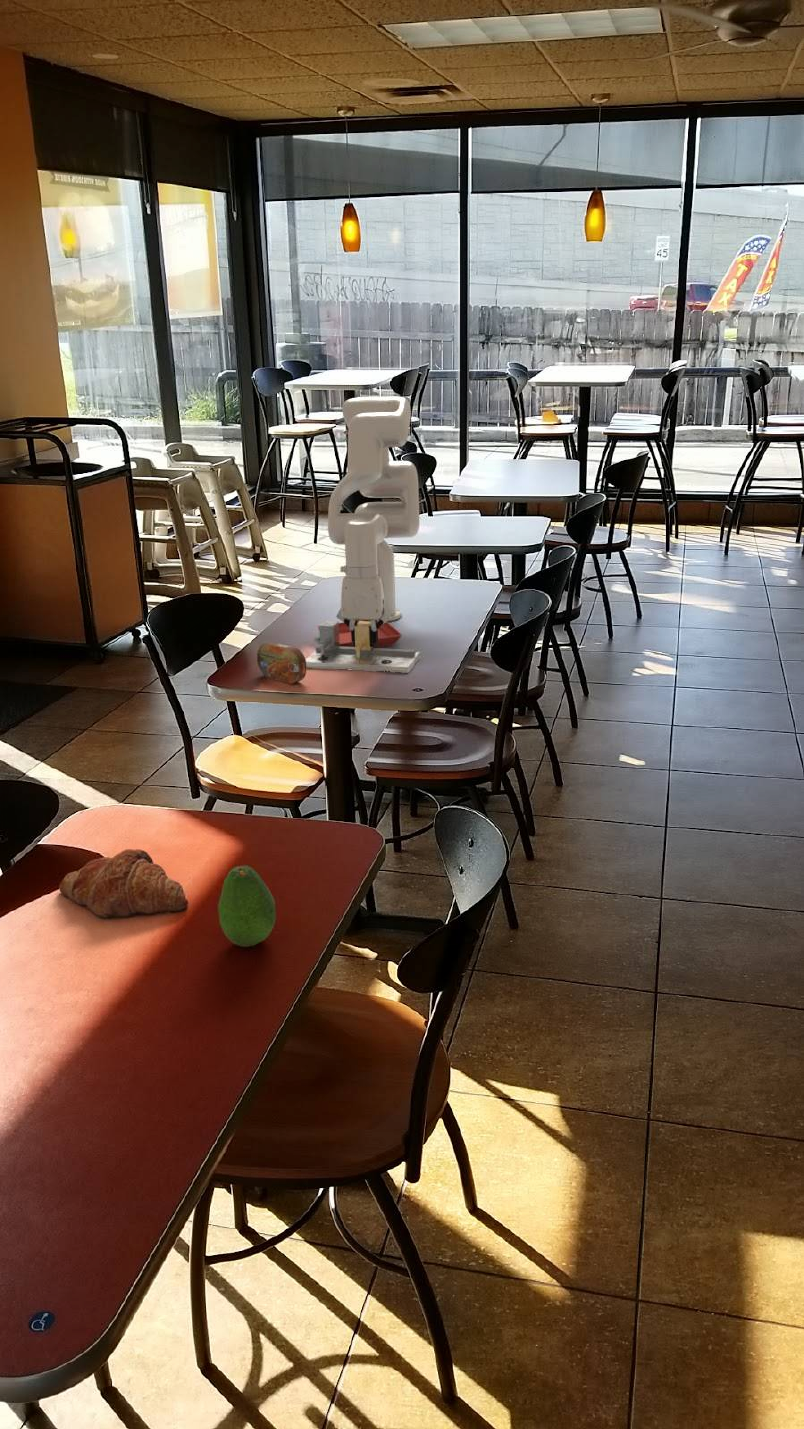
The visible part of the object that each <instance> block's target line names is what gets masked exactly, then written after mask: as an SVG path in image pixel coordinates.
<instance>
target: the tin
mask: <svg viewBox="0 0 804 1429" xmlns="http://www.w3.org/2000/svg"><path fill="white" fill-rule="evenodd" d="M306 659H307V658H306V657H305V655H304V654H303V652H302V650H300V649H299V648H296V647H294V646H289V645H285V644H281V643H277V642H269V643H268V642H267V643H262V645H261V644H260V646H259V648H258V651H257V654H256V661H257V665H258V669H259V671H260V672H261V673H262V675H263V676H264V677H265V678H268V679H271V680H274V681H279V682H282V683H284V684H288V685H293V684H295V683H298V682H299V683H300V682H302V681H303V680H304V679H305V677H306V674H307V668H306Z"/></svg>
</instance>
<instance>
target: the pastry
mask: <svg viewBox="0 0 804 1429" xmlns="http://www.w3.org/2000/svg"><path fill="white" fill-rule="evenodd" d="M58 889H59V891H60V893H61V894H62V895H63V897H65V898H67V899H69V900H70V901H73V902H74V903H76V904H77V905H78V906H80V907H83V908H88V910H89V911H90V912H92V913H94V914H95V915H96V916H97V917H99V918H101V919H108V920H109V919H123V918H124V919H125V918H132V917H134V916H139V915H147V916H149V915H151V916H152V915H155V914H157V915H158V914H167V913H172V914H173V913H181V912H183V911H185V910H186V909H188V906H189V901H188V899H187V898H186V893H185V891H184V889H183V886H182V885H181V883H180V882H178V881H175V880H174V879H172V878H169V877H168V875H167V874H166V871H165V870H164V869H163V867H162V866H161V865H159V864H158V863H154V861H153V858H152V856H151V855H150V854H149V853H148V851H146V850H142V849H131V848H130V849H125V850H122V851H120V852H119V853H117V854H116V855H115V856H113V857H109V856H108V857H100V858H96V859H92V860H90V861H89V862H86V864H85V865H84V866H83V867H82V868H80V869H79V870H76V871H71V872H69V873H67V874H66V875H65V876H64V878H63V879H62V880H61V882H60V884H59V887H58Z"/></svg>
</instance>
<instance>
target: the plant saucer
mask: <svg viewBox="0 0 804 1429" xmlns="http://www.w3.org/2000/svg"><path fill="white" fill-rule="evenodd" d="M380 619H382V618H380ZM380 619H378V621H379V620H380ZM359 621H369V622H370V620H358V621H357V623H358V622H359ZM316 628H317V630H319V625H318V626H316ZM402 636H403V634H402V633H401V632H399V631H398V629H396V628H395V627H394V626H393V625H391V624H390V623H389V622H388V621H387V622H386V623H384V624H382V625H381V626H380V627H379V628H378V643H376V645H375V646H374V648H381V647H380V646H382V647H387V646H386V645H390V646H393V645H392V644H394V645H395V644H396V643H397V642H398V641H399V640H400V639H401V637H402ZM339 640H340V645H339V646H341V647H355V646H354V645H353V642H352V640H351V630H350V629H349V627H348V626H347V625H346V624H345V623H344V622H343V621H342V622H339ZM372 648H373V647H372Z"/></svg>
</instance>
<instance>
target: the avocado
mask: <svg viewBox="0 0 804 1429" xmlns="http://www.w3.org/2000/svg"><path fill="white" fill-rule="evenodd" d="M217 909H218V918H219V925H220V927H221V929H222V931H223V933H224V935H225V937H227V939H228V941H230V942H231V943H232V944H234V945H237V946H240V947H242V948H243V947H244V948H247V947H252V946H256V945H257V944H259V943H261V942H263V941H265V940H266V939H267V938H268V937H269V935H270V934H271V933H272V930H273V929H274V926H275V923H276V920H277V913H276V902H275V899H274V896H273V895H272V893H271V891H270V888H269V887H268V885H266V883H265V882H264V881H263V879H262V877H261V876H260V875H259V874H258V873H257V871H255V869H253V868H252V867H251V866H248V865H247V864H246V865H241V866H234V868H232V869H231V870H230V871H229V872H228V874H227V875H226V876H225V879H224V881H223V885H222V888H221V893H220V896H219V901H218V904H217Z"/></svg>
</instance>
